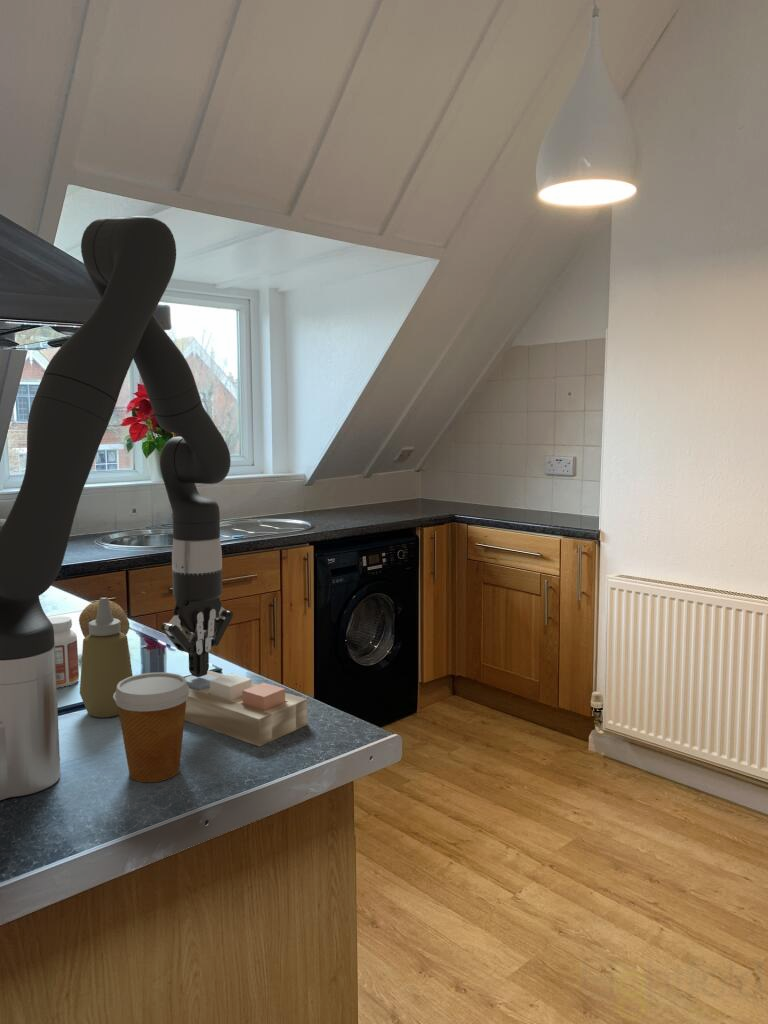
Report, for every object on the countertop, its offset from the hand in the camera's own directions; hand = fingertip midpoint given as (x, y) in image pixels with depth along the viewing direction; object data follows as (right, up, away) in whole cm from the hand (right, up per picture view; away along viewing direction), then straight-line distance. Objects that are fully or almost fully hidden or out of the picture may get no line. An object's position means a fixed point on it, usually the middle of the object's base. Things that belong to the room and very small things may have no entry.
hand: (199, 675), depth 130 cm
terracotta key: (+11, -4, -8) cm, 14 cm away
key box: (+6, -6, -3) cm, 9 cm away
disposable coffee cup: (-1, -8, -22) cm, 24 cm away
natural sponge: (-25, -1, +30) cm, 39 cm away
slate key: (0, -4, 0) cm, 4 cm away
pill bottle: (-26, -4, +12) cm, 29 cm away
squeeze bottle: (-14, -6, -1) cm, 15 cm away
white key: (+6, -3, -4) cm, 8 cm away
